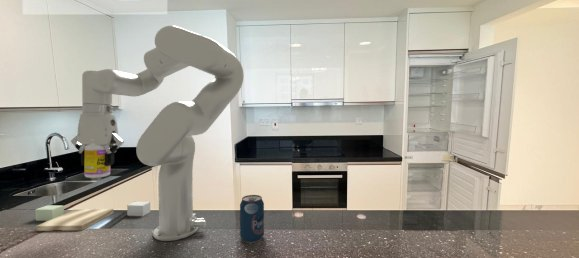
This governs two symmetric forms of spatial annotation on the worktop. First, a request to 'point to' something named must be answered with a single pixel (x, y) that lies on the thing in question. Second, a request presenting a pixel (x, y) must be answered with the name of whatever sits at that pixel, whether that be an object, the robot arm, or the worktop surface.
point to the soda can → (251, 218)
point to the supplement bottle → (95, 161)
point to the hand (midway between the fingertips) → (97, 164)
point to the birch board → (75, 220)
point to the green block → (49, 212)
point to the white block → (138, 208)
